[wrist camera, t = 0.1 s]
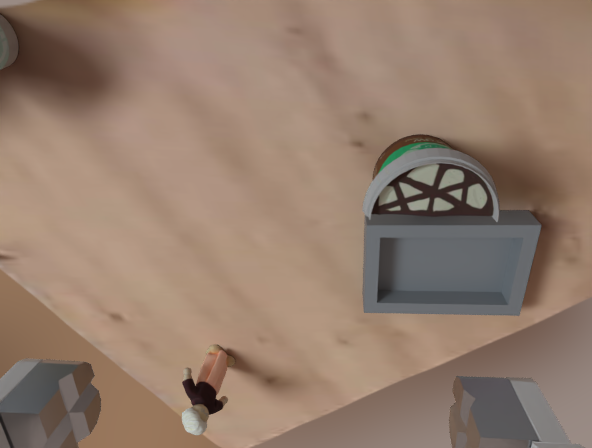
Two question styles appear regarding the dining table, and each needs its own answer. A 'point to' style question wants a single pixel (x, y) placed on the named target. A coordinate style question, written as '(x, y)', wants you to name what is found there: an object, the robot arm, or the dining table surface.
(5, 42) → the coffee cup
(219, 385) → the grandmother figurine
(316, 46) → the dining table surface
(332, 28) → the dining table surface
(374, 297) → the tray
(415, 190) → the food container
